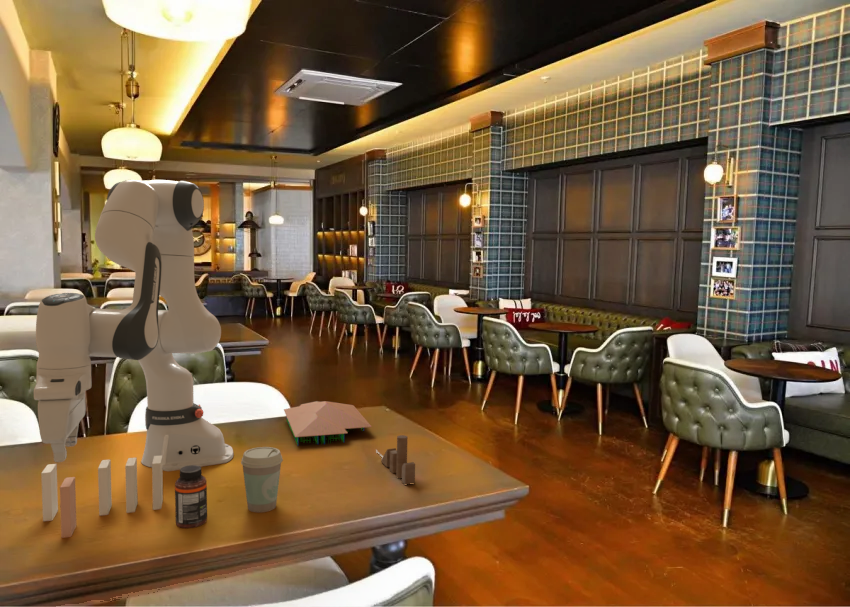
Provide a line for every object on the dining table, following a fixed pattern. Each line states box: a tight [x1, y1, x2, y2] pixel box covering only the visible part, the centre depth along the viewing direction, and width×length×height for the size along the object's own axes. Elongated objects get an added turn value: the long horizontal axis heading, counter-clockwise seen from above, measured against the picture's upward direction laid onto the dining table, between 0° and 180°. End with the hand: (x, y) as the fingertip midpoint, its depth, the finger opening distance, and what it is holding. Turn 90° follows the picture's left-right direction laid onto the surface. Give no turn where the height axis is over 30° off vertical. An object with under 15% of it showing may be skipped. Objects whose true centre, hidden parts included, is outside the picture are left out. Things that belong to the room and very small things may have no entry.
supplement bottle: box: [174, 465, 208, 529], centre depth 124 cm, size 6×6×11 cm
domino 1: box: [59, 476, 77, 539], centre depth 119 cm, size 2×5×10 cm, turn 19°
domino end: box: [40, 463, 59, 522], centre depth 125 cm, size 2×5×10 cm, turn 19°
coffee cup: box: [240, 446, 284, 513], centre depth 132 cm, size 8×8×12 cm
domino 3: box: [124, 457, 138, 514], centre depth 130 cm, size 2×5×10 cm, turn 19°
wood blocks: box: [375, 434, 416, 485], centre depth 158 cm, size 25×3×10 cm, turn 23°
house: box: [283, 400, 372, 447], centre depth 192 cm, size 23×33×8 cm
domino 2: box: [97, 459, 113, 516], centre depth 129 cm, size 2×5×10 cm, turn 19°
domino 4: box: [151, 455, 164, 511], centre depth 132 cm, size 2×5×10 cm, turn 19°
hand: (65, 452), depth 117 cm, fingers open, 8 cm apart
